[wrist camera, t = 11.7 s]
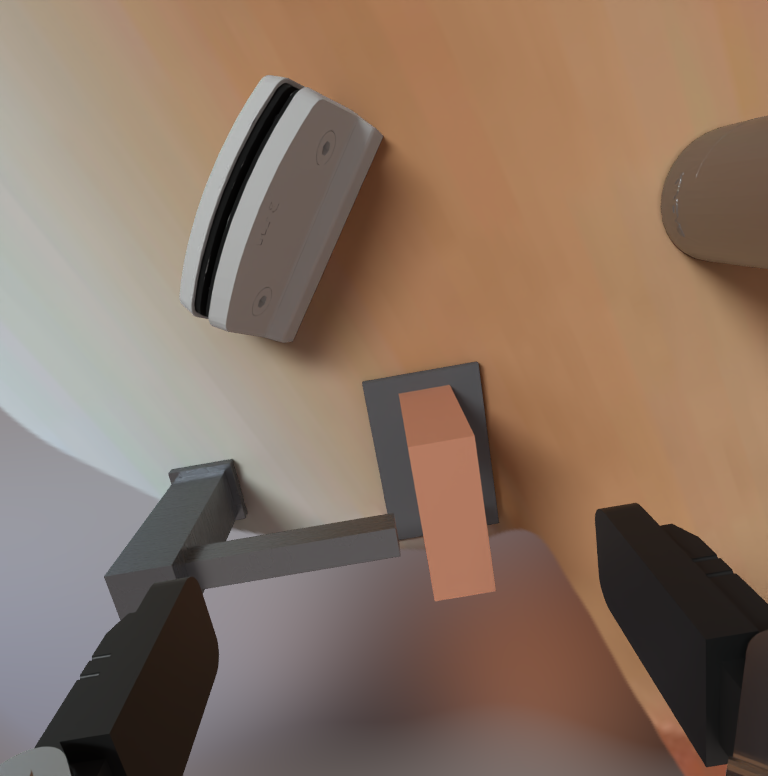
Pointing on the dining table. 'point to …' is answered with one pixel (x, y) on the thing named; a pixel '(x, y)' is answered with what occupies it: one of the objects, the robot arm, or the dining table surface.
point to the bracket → (236, 557)
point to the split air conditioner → (274, 209)
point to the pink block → (448, 493)
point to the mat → (394, 444)
